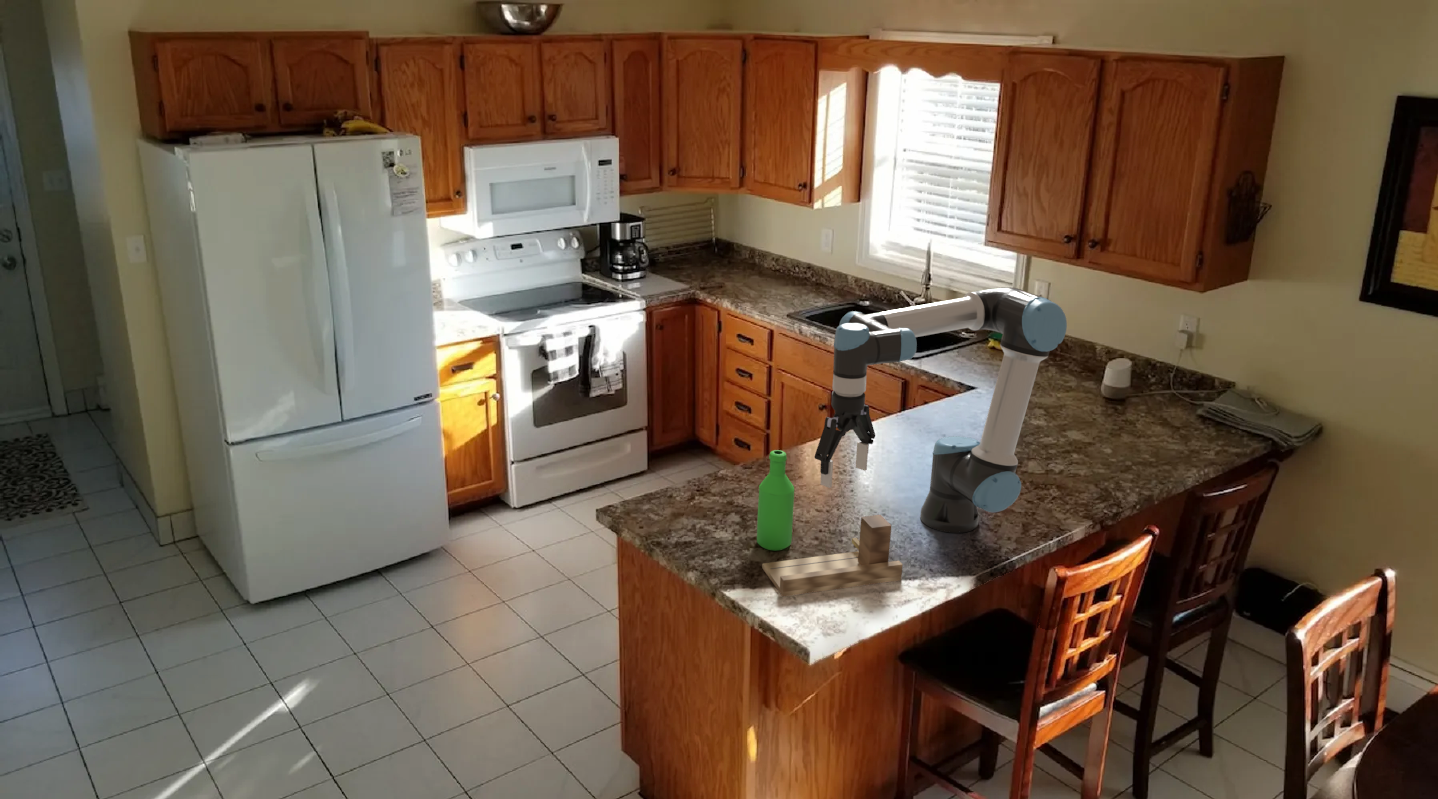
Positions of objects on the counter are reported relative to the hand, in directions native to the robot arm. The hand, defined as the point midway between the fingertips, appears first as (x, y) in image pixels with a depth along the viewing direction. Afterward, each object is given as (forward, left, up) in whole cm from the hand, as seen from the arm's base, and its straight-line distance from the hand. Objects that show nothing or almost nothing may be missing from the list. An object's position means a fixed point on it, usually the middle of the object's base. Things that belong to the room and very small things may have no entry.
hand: (843, 477), depth 251 cm
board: (+2, +2, -24) cm, 24 cm away
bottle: (+10, -16, -24) cm, 31 cm away
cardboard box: (-8, -1, -23) cm, 24 cm away
